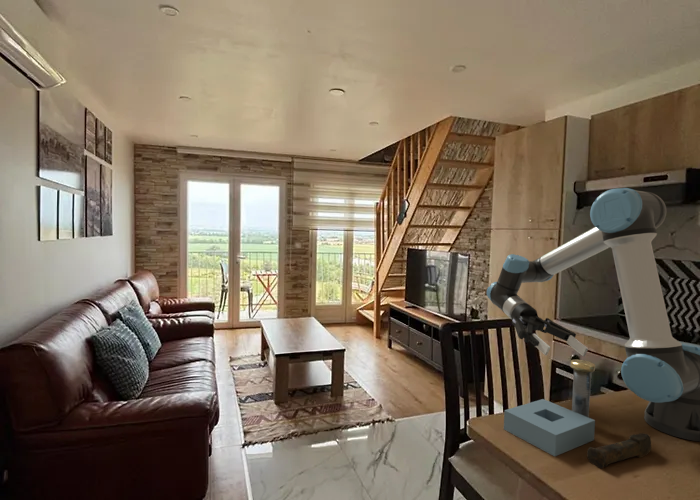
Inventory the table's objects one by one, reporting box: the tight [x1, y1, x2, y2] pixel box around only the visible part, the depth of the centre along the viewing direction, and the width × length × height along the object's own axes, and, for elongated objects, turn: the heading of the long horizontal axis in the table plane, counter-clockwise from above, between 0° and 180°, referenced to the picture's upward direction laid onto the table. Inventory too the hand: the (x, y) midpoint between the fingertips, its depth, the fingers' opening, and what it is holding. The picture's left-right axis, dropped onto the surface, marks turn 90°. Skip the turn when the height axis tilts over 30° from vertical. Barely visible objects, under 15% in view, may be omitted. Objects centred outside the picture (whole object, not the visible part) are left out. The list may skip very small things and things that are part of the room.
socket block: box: [503, 398, 596, 457], centre depth 99 cm, size 14×16×5 cm
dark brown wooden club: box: [586, 432, 652, 469], centre depth 89 cm, size 19×4×5 cm, turn 109°
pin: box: [570, 359, 596, 418], centre depth 106 cm, size 6×6×16 cm
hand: (567, 352), depth 111 cm, fingers open, 13 cm apart
